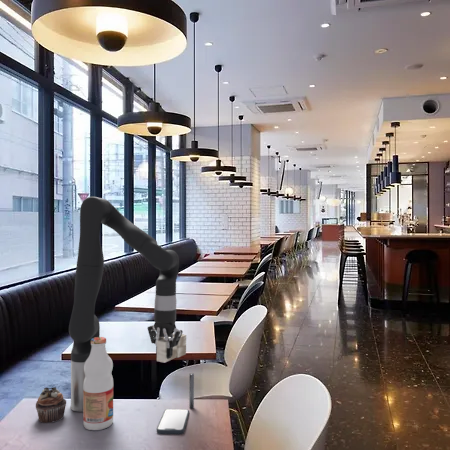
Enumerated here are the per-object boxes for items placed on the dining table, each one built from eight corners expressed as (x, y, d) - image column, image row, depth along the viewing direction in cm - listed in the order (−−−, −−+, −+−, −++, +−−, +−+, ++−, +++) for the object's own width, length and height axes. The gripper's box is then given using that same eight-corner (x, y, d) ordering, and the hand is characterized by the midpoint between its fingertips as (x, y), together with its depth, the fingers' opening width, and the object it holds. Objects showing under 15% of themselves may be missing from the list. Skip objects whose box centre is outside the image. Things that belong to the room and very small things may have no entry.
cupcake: (66, 421, 140) (66, 391, 140) (34, 426, 136) (34, 395, 136) (66, 409, 149) (66, 381, 149) (36, 414, 145) (36, 385, 145)
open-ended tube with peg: (174, 351, 156) (175, 332, 156) (185, 354, 154) (186, 334, 154) (154, 360, 145) (155, 340, 145) (166, 363, 143) (167, 342, 143)
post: (188, 407, 150) (188, 373, 150) (192, 406, 151) (192, 372, 151) (191, 408, 149) (191, 375, 149) (194, 407, 150) (194, 374, 150)
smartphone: (164, 413, 147) (155, 435, 131) (164, 408, 147) (155, 429, 131) (189, 413, 147) (183, 435, 131) (189, 409, 147) (183, 430, 131)
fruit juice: (79, 422, 139) (80, 337, 139) (108, 415, 144) (108, 333, 144) (87, 434, 131) (87, 344, 131) (117, 426, 136) (117, 339, 136)
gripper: (188, 308, 146) (187, 357, 146) (155, 303, 153) (154, 351, 153) (176, 311, 139) (174, 363, 139) (142, 306, 146) (141, 356, 146)
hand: (164, 356), depth 146 cm, fingers closed on open-ended tube with peg, 3 cm apart
